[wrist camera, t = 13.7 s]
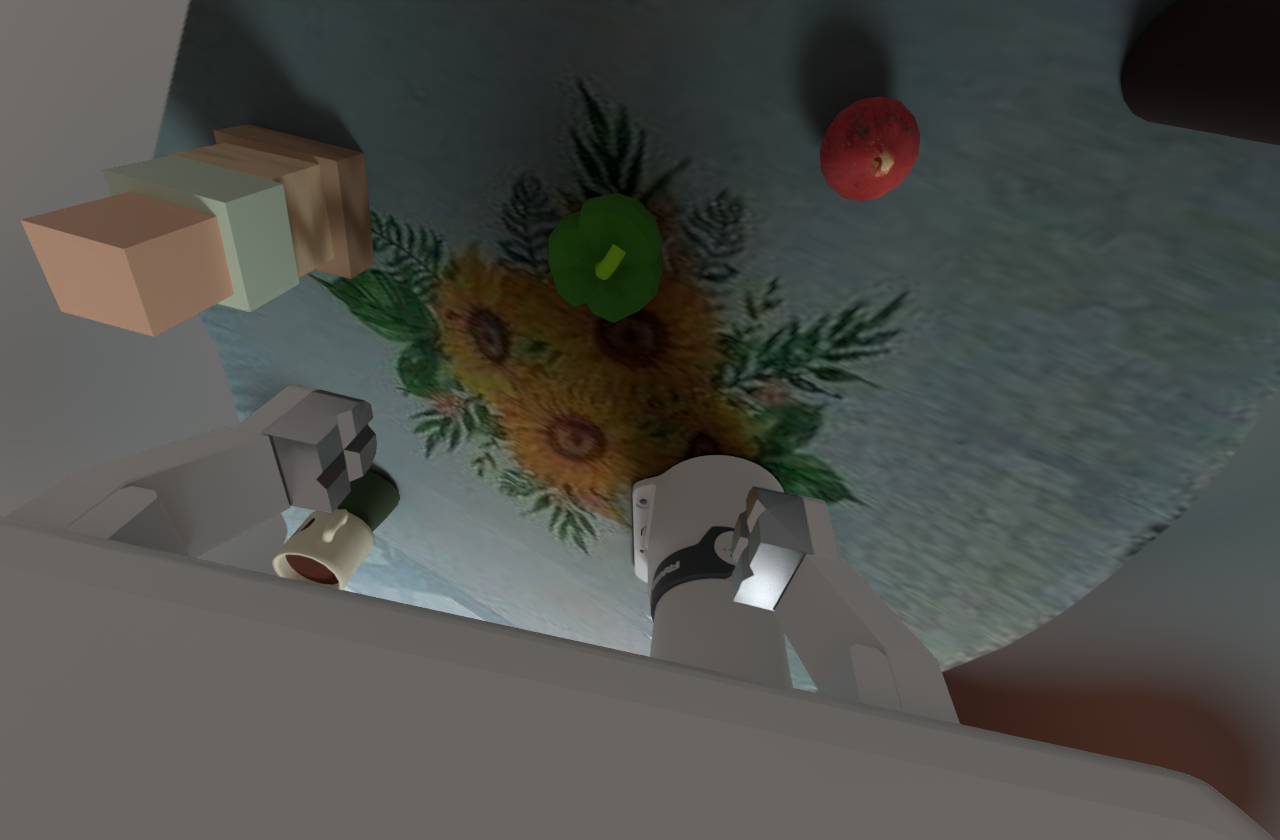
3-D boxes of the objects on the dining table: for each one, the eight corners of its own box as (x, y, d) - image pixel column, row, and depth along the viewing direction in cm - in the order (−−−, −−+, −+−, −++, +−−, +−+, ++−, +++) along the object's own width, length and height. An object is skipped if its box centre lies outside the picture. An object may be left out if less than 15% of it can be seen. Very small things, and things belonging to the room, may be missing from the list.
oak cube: (334, 257, 43) (294, 280, 39) (248, 238, 42) (199, 259, 38) (319, 164, 38) (272, 178, 34) (224, 142, 38) (166, 154, 34)
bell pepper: (608, 304, 46) (584, 360, 38) (549, 221, 42) (508, 263, 34) (692, 254, 42) (686, 303, 34) (635, 158, 39) (613, 189, 31)
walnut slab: (376, 262, 47) (351, 278, 43) (275, 237, 46) (242, 251, 43) (366, 152, 41) (336, 161, 38) (252, 123, 41) (213, 130, 38)
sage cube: (299, 283, 39) (250, 312, 35) (203, 258, 38) (142, 283, 34) (283, 184, 35) (225, 202, 30) (175, 154, 34) (102, 169, 30)
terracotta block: (234, 294, 34) (153, 336, 29) (155, 272, 34) (61, 311, 29) (216, 216, 31) (123, 249, 26) (130, 191, 31) (20, 219, 26)
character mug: (356, 442, 59) (277, 529, 49) (416, 471, 61) (353, 561, 50) (338, 500, 65) (265, 588, 55) (394, 525, 67) (333, 615, 56)
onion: (798, 127, 37) (815, 145, 30) (882, 71, 34) (920, 78, 28) (832, 202, 39) (854, 234, 33) (913, 155, 37) (954, 179, 30)
